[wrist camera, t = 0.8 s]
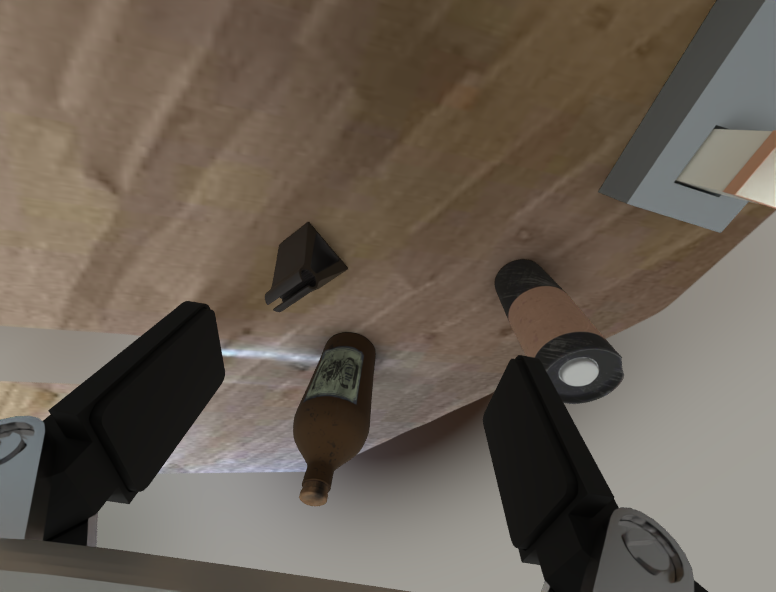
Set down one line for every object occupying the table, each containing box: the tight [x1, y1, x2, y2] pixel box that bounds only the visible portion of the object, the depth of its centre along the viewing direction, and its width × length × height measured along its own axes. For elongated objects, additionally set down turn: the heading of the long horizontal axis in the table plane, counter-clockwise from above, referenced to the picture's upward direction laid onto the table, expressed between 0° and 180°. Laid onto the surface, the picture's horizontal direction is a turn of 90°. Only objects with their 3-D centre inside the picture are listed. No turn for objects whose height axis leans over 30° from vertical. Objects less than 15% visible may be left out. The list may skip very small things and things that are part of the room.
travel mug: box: [495, 260, 624, 404], centre depth 37 cm, size 8×8×20 cm
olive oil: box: [293, 333, 376, 506], centre depth 45 cm, size 11×11×25 cm
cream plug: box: [675, 129, 776, 209], centre depth 30 cm, size 5×5×12 cm
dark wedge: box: [265, 222, 348, 312], centre depth 41 cm, size 9×6×12 cm, turn 36°
